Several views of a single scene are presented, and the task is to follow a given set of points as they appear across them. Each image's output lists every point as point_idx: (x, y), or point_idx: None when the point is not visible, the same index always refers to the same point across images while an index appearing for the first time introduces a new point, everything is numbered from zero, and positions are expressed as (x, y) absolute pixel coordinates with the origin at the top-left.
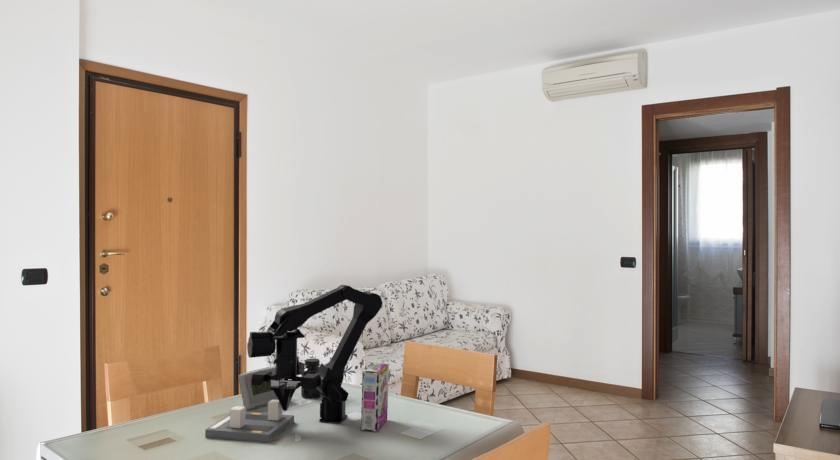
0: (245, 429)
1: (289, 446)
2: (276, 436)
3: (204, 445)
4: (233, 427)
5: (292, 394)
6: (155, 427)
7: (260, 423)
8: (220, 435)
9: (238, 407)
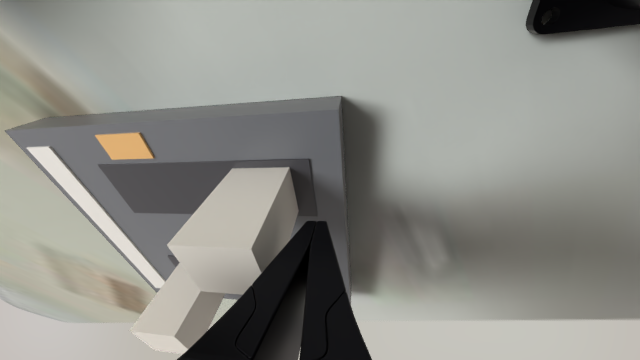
0: None
1: (424, 298)
2: (349, 253)
3: None
4: None
5: (358, 345)
6: (9, 240)
7: None
8: None
9: (157, 339)
